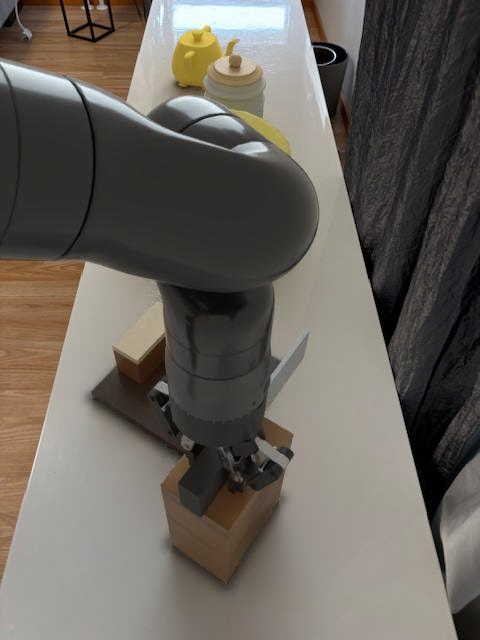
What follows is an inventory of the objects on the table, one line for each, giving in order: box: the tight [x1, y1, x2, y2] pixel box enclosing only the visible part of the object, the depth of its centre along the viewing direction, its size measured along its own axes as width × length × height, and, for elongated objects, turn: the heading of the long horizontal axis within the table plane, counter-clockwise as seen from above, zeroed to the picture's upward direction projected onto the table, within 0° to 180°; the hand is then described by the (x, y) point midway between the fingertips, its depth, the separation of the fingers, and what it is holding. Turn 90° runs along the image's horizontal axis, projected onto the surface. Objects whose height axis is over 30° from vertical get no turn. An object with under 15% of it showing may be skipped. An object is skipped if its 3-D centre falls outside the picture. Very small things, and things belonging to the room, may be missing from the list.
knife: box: [178, 328, 310, 518], centre depth 56 cm, size 22×2×5 cm, turn 147°
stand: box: [159, 416, 295, 584], centre depth 62 cm, size 12×8×18 cm, turn 147°
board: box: [90, 355, 282, 457], centre depth 82 cm, size 20×20×2 cm
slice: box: [111, 300, 166, 384], centre depth 81 cm, size 10×4×6 cm, turn 147°
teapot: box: [171, 24, 241, 91], centre depth 133 cm, size 14×14×12 cm
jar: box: [203, 52, 267, 118], centre depth 117 cm, size 13×13×18 cm
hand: (217, 472), depth 54 cm, fingers open, 4 cm apart
